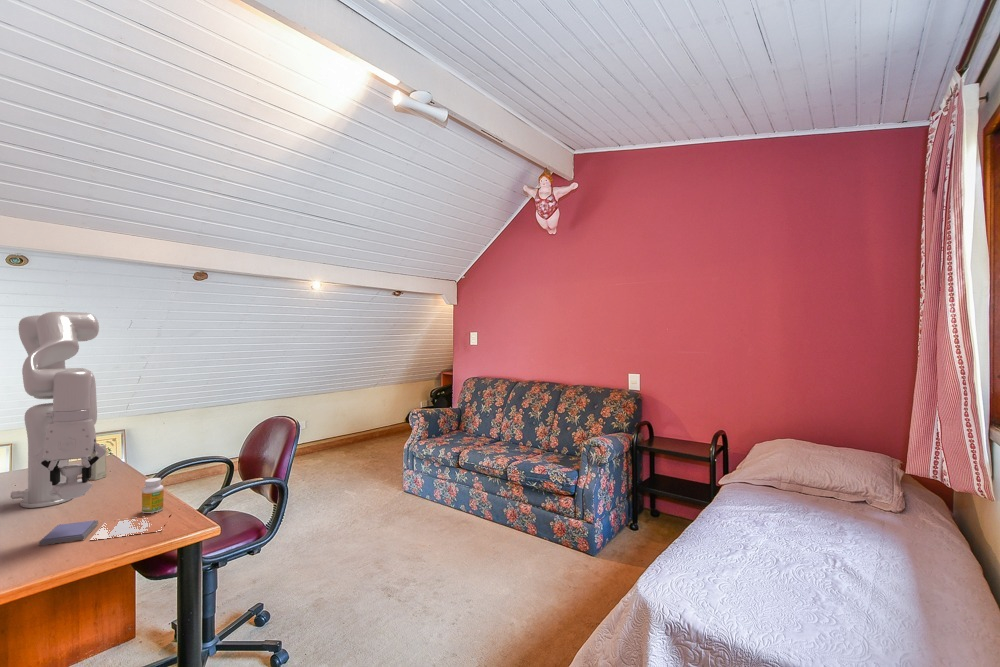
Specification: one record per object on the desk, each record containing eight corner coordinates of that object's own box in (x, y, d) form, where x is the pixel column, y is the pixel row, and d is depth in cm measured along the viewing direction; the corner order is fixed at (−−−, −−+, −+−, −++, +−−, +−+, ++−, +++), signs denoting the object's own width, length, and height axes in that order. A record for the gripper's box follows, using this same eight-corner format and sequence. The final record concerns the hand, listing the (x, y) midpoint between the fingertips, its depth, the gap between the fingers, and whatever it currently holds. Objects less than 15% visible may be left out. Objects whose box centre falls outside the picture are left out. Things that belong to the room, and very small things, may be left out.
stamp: (53, 504, 124) (53, 472, 124) (45, 499, 128) (45, 467, 128) (96, 494, 132) (97, 464, 132) (88, 490, 136) (88, 460, 136)
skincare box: (106, 476, 180) (107, 444, 180) (95, 480, 175) (95, 447, 175) (91, 475, 181) (92, 443, 180) (80, 479, 176) (80, 446, 176)
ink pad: (39, 546, 123) (39, 540, 123) (57, 529, 133) (57, 524, 133) (83, 540, 127) (83, 534, 127) (98, 524, 137) (98, 519, 137)
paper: (89, 541, 126) (89, 540, 126) (106, 521, 139) (106, 520, 139) (161, 531, 133) (161, 530, 133) (171, 513, 146) (172, 513, 146)
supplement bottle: (151, 515, 145) (152, 483, 144) (137, 513, 146) (137, 481, 146) (167, 508, 150) (168, 477, 150) (153, 507, 151) (153, 476, 151)
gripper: (23, 420, 123) (22, 490, 123) (106, 416, 130) (106, 482, 130) (36, 415, 130) (35, 482, 130) (115, 412, 137) (114, 475, 137)
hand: (71, 481), depth 130 cm, fingers closed on stamp, 5 cm apart
